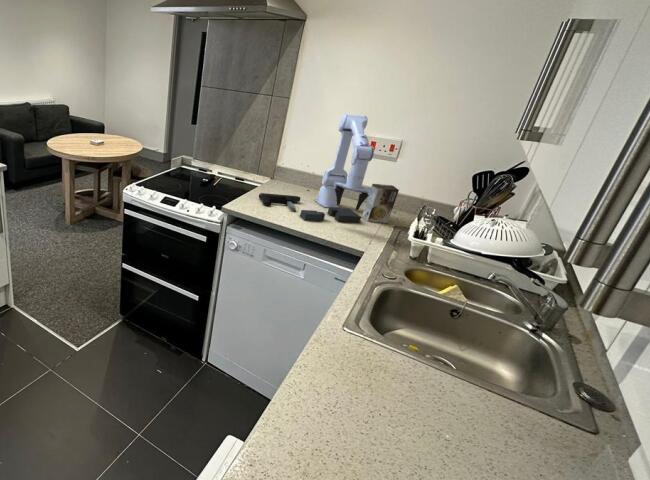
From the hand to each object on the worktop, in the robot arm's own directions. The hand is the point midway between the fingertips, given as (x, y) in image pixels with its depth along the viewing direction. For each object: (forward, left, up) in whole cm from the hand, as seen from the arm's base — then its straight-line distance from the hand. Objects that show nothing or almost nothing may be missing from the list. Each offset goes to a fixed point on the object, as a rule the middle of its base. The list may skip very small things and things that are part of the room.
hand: (347, 207), depth 164 cm
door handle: (-24, -18, -9) cm, 31 cm away
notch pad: (-11, +6, -9) cm, 15 cm away
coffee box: (-11, +21, -9) cm, 25 cm away
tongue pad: (-8, -10, -9) cm, 15 cm away
